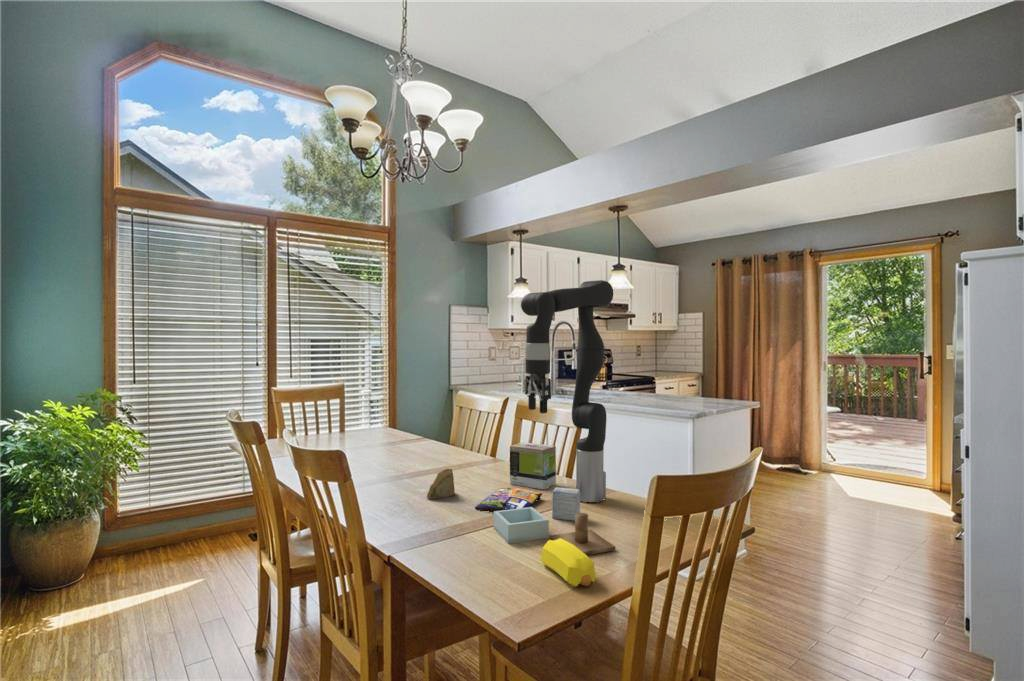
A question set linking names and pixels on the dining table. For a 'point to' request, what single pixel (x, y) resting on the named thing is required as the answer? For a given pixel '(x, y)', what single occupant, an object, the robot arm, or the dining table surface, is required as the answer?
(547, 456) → the tea box
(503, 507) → the food package
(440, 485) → the rock
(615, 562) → the dining table surface
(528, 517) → the dish
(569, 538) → the lid
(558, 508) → the medicine box
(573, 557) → the yellow faceted long part
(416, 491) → the dining table surface
